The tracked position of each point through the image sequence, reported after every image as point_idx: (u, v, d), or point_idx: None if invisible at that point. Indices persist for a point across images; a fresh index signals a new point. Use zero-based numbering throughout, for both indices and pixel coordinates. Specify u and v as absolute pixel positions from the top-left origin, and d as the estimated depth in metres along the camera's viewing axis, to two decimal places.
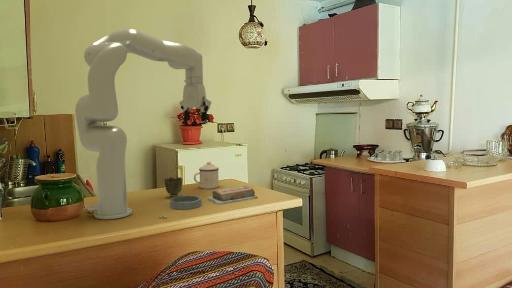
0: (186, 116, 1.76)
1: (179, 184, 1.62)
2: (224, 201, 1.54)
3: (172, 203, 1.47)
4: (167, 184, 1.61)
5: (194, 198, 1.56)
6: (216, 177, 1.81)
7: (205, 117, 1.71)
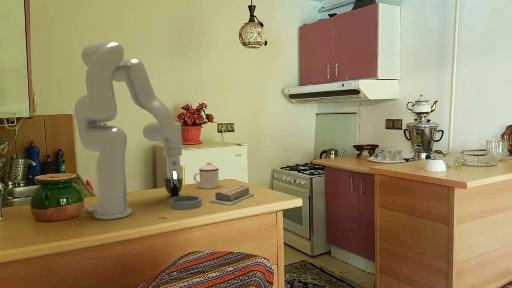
0: None
1: (179, 184, 1.62)
2: (232, 201, 1.54)
3: (172, 203, 1.47)
4: (167, 184, 1.61)
5: (194, 198, 1.56)
6: (216, 177, 1.81)
7: None
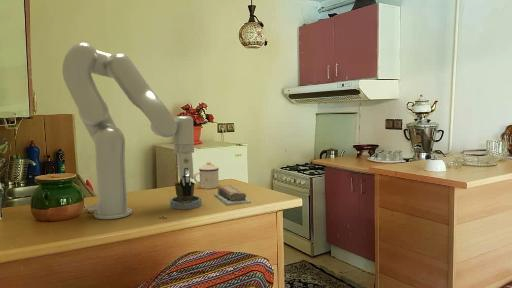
0: None
1: (191, 189, 1.49)
2: (246, 199, 1.57)
3: (172, 203, 1.47)
4: (178, 189, 1.48)
5: (194, 198, 1.56)
6: (216, 177, 1.81)
7: None
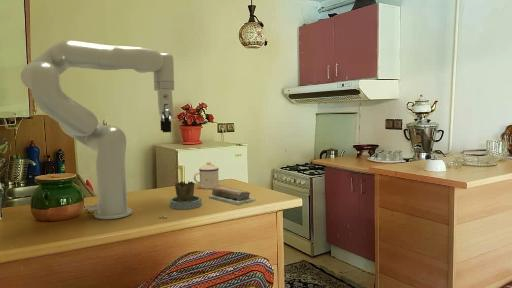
0: None
1: (191, 189, 1.49)
2: (249, 197, 1.59)
3: (172, 203, 1.47)
4: (178, 189, 1.48)
5: (194, 198, 1.56)
6: (216, 177, 1.81)
7: None
